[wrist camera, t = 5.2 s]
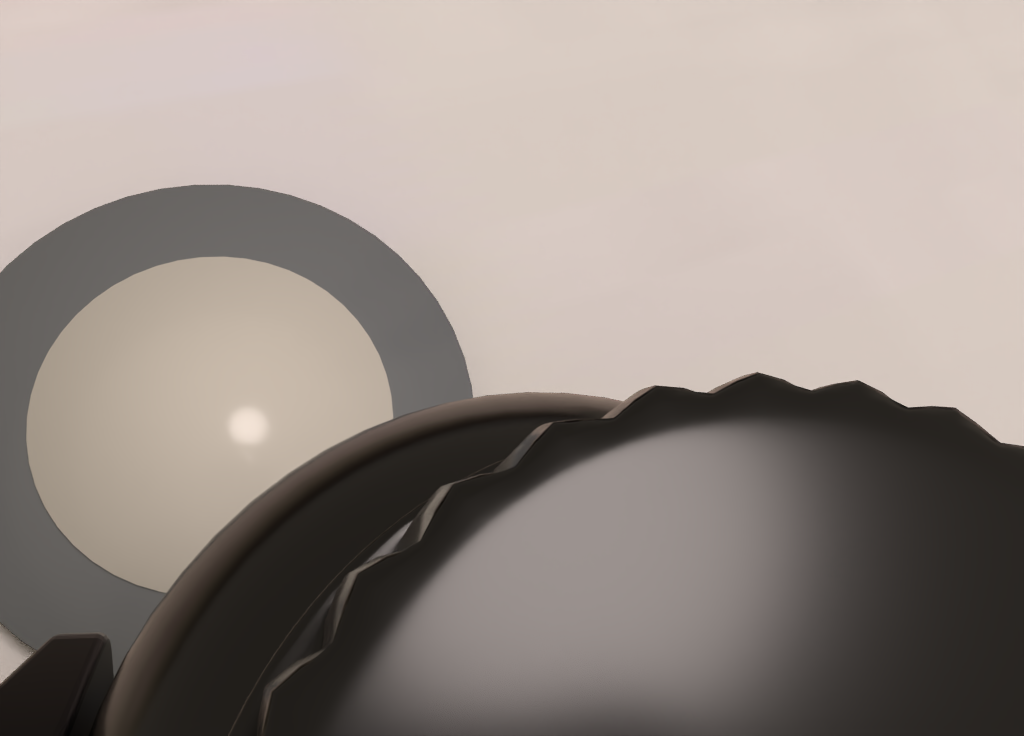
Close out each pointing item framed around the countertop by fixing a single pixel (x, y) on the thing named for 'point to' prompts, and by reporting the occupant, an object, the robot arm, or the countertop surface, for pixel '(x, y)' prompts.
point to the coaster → (186, 386)
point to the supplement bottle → (609, 577)
